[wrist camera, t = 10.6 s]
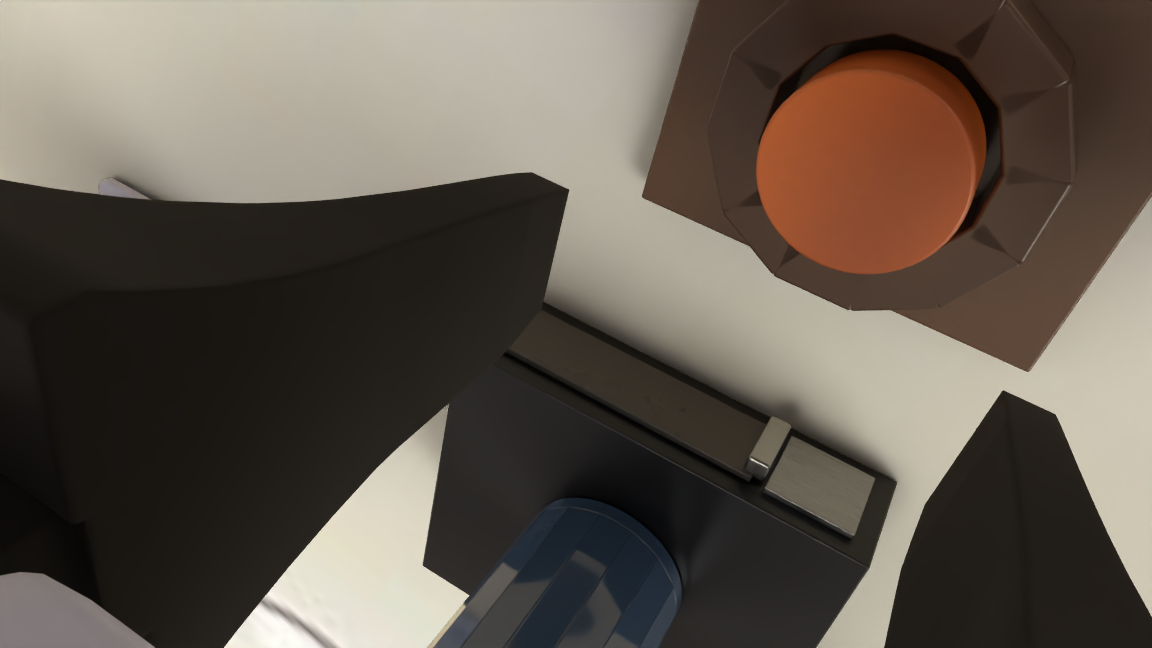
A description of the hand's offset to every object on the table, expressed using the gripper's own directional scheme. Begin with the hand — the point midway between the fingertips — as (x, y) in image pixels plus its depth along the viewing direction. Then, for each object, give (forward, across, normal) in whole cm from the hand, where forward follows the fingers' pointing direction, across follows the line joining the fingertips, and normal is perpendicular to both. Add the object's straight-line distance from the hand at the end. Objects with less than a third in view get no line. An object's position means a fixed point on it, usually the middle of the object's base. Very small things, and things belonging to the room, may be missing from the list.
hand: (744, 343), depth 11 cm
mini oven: (+10, +2, +14) cm, 18 cm away
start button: (+8, 0, 0) cm, 8 cm away
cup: (+7, +2, +14) cm, 16 cm away
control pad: (+10, 0, 0) cm, 10 cm away
